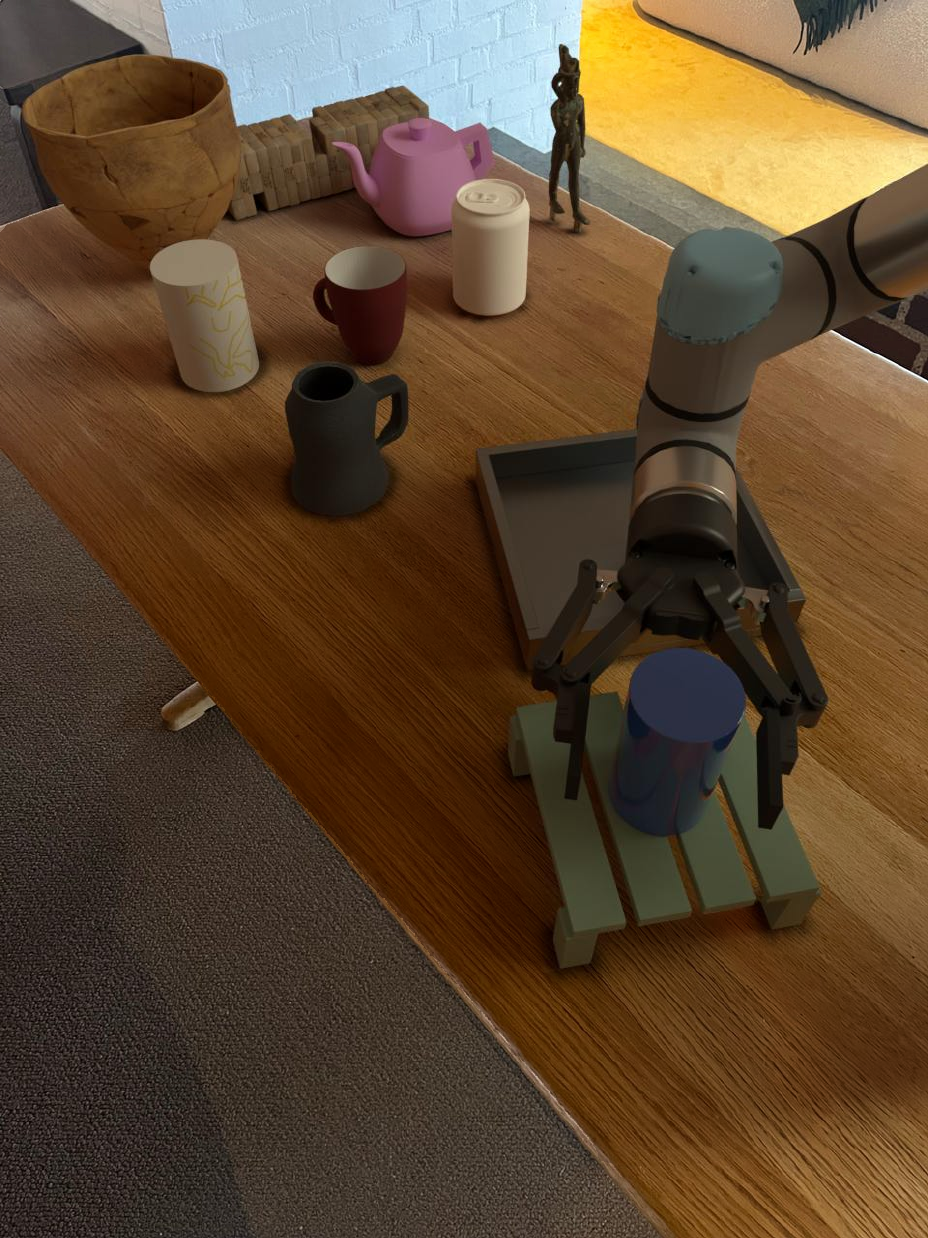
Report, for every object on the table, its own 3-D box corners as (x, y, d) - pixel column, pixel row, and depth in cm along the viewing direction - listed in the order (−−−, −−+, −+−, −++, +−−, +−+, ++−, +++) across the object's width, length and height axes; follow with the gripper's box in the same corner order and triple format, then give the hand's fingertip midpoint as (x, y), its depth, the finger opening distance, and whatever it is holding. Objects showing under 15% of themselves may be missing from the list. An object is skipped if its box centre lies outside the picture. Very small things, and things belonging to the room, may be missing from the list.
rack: (800, 924, 62) (826, 886, 57) (559, 969, 60) (566, 933, 56) (716, 720, 72) (733, 673, 67) (507, 753, 70) (510, 707, 66)
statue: (570, 246, 114) (585, 66, 99) (533, 226, 117) (542, 48, 102) (597, 232, 116) (616, 53, 101) (560, 213, 119) (572, 36, 104)
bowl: (78, 330, 104) (8, 144, 89) (85, 235, 117) (26, 57, 101) (269, 307, 107) (235, 121, 91) (256, 216, 119) (224, 40, 104)
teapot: (325, 207, 121) (314, 115, 112) (470, 174, 126) (470, 84, 117) (361, 258, 113) (351, 164, 104) (514, 222, 118) (517, 129, 109)
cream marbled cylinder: (213, 402, 96) (185, 296, 87) (164, 369, 100) (132, 263, 90) (275, 365, 100) (254, 259, 91) (226, 335, 103) (201, 230, 94)
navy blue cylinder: (722, 827, 60) (764, 732, 51) (623, 844, 59) (648, 751, 51) (689, 741, 64) (722, 639, 55) (596, 756, 63) (615, 656, 55)
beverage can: (520, 323, 104) (524, 218, 95) (447, 316, 105) (444, 211, 96) (529, 282, 109) (535, 179, 100) (460, 276, 110) (458, 173, 101)
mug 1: (301, 363, 100) (286, 276, 92) (333, 321, 105) (321, 235, 97) (394, 383, 98) (387, 296, 90) (423, 339, 103) (418, 253, 95)
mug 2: (321, 530, 85) (304, 430, 76) (273, 473, 90) (251, 373, 81) (434, 476, 89) (429, 376, 80) (382, 425, 94) (373, 325, 85)
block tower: (225, 230, 119) (434, 168, 127) (209, 163, 112) (430, 101, 120) (205, 202, 123) (408, 143, 131) (188, 136, 117) (402, 78, 124)
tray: (793, 631, 77) (806, 598, 74) (526, 671, 75) (529, 639, 72) (703, 452, 91) (711, 418, 88) (475, 481, 89) (475, 448, 86)
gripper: (833, 582, 70) (858, 863, 56) (519, 544, 72) (470, 804, 58) (865, 507, 64) (903, 801, 50) (523, 469, 66) (470, 738, 53)
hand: (670, 803), depth 54 cm, fingers open, 10 cm apart
